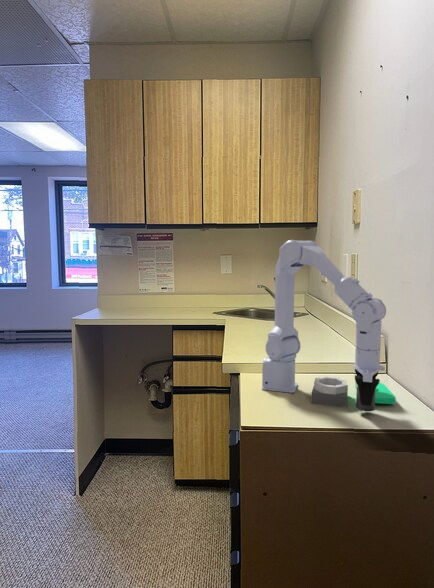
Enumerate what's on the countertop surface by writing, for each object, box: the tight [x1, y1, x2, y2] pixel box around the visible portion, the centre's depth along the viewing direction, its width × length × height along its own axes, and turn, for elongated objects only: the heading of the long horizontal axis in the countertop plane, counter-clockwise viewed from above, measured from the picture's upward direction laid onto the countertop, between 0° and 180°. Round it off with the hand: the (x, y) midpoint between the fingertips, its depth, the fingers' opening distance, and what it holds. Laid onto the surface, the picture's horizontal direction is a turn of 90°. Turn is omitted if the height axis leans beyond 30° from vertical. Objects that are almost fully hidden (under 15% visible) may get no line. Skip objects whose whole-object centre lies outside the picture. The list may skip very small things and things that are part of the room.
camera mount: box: [354, 381, 397, 405], centre depth 108 cm, size 12×8×10 cm, turn 174°
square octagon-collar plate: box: [311, 376, 349, 408], centre depth 108 cm, size 9×9×5 cm
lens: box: [355, 384, 376, 412], centre depth 98 cm, size 5×5×6 cm
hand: (365, 401), depth 98 cm, fingers closed on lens, 4 cm apart
